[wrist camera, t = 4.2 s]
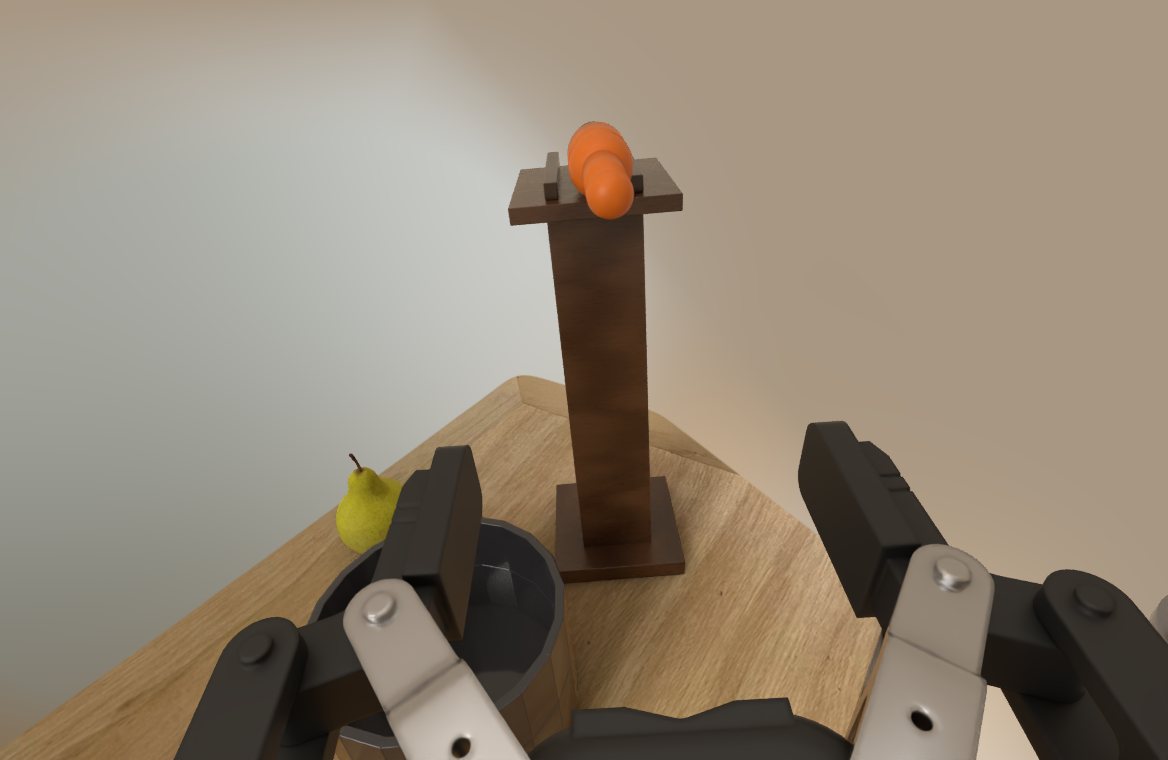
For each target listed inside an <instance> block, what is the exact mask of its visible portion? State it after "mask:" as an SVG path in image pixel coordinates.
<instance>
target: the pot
mask: <svg viewBox="0 0 1168 760" xmlns="http://www.w3.org/2000/svg"><path fill="white" fill-rule="evenodd" d="M384 541H385V540H383V541H381V542H379V543H377V544H376V545H374V546H372V547H371V548H369V549H368V550H367V551H366V552H364V553H363V554H362V555H361V556H360V557H358V558H357V559H356V560H355V561H353V562H352V563H351V564H350V565H349V566H347V567H346V568H345V569H344V570H342V572H340V574H339V575H338V576H337V577H336V579H335V580H334V581H333V582H332V584H331V585H330V586H329V587H328V589H327V590H326V591H325V593H324V594H323V595H322V596H321V598H320V599H319V600H318V601H317V603H316V605H315V607H314V610H313V612H312V614H311V617H310V619H309V621H308V623H307V625H308V624H311V623H314V622H317V621H320V620H322V619H325V618H328V617H331V616H333V615H336V614H338V613H340V612H342V611H344V610H346V608H347V606H348V604H349V603H350V601H351V600H352V599H353V597H354V596H355V595H356V594H357V593H358V592H360V591H361V590H362V589H363V588H365V587H366V586H368V585H370V583H371V581H372V579H373V576H374V573H375V569H376V566H377V563H378V560H379V557H380V554H381V551H382V548H383V545H384ZM448 643H449V644H450V646H451V647H452V649H453V651H454V652H455V654H456V655H457V656H458V658H459V659H461V658H462V659H463V660H464V661H465V662H466V663H467V664H468V666H469V667H470V669H471V670H472V672H473V673H474V675H475V676H476V678H477V679H478V681H479V682H480V684H481V685H482V687H483V688H484V690H485V691H486V693H487V694H488V696H489V697H490V699H491V701H492V702H493V704H494V705H495V707H496V708H497V710H498V711H499V713H500V714H501V716H502V717H503V719H504V720H505V722H506V723H507V725H508V726H509V728H510V729H511V731H512V733H513V734H514V736H515V737H516V739H517V740H518V742H519V743H520V745H521V746H522V748H523V749H524V751H525V752H526V754H528V753H529V752H530V751H531V750H533V749H534V748H535V747H536V746H537V745H538V744H540V743H541V742H542V741H544V740H545V739H547V738H548V737H550V736H551V735H553V734H555V733H557V732H559V731H561V730H563V729H566V728H569V727H571V726H572V710H576V707H577V691H578V690H577V669H576V662H575V655H574V648H573V642H572V635H571V627H570V621H569V614H568V607H567V600H566V593H565V586H564V582H563V579H562V577H561V575H560V572H559V570H558V567H557V565H556V562H555V560H554V557H553V556H552V554H551V553H550V552H549V551H548V550H547V549H546V548H545V547H544V546H543V545H542V544H541V543H540V542H539V541H538V540H537V539H536V538H535V537H534V536H533V535H532V534H531V533H529V532H527V531H525V530H523V529H520V528H518V527H516V526H514V525H512V524H510V523H508V522H506V521H502V520H496V519H490V518H484V517H482V518H481V524H480V531H479V537H478V544H477V550H476V556H475V563H474V569H473V575H472V582H471V588H470V595H469V601H468V607H467V614H466V620H465V627H464V633H463V639H462V641H448ZM335 753H336V755H337V756H338V758H339V760H407V759H406V757H405V755H404V753H403V751H402V749H401V747H400V745H399V743H398V741H397V738H396V736H395V734H394V732H393V730H392V728H391V726H390V724H389V722H388V720H387V718H386V715H385V712H384V710H383V711H380V712H378V713H376V714H373V715H371V716H368V717H366V718H363V719H361V720H358V721H356V722H353V723H351V724H348V725H346V726H343V727H341V730H340V734H339V738H338V742H337V746H336V750H335Z"/></svg>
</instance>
